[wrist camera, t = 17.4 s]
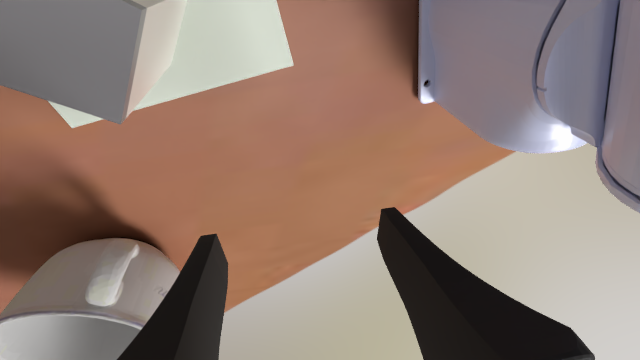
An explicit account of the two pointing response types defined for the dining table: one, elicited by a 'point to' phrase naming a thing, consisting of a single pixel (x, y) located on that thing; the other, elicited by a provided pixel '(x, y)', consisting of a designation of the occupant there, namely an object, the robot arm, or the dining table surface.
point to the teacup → (86, 302)
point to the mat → (214, 51)
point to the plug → (88, 50)
